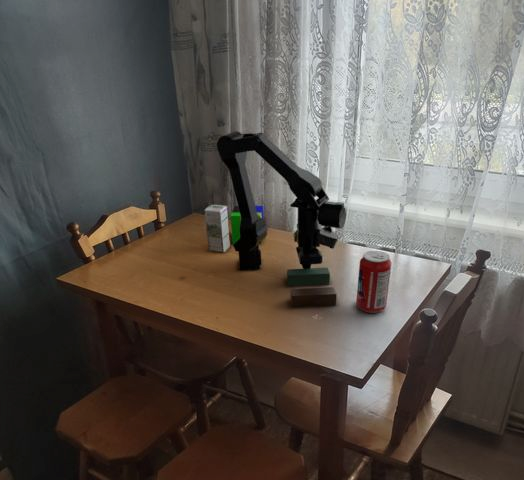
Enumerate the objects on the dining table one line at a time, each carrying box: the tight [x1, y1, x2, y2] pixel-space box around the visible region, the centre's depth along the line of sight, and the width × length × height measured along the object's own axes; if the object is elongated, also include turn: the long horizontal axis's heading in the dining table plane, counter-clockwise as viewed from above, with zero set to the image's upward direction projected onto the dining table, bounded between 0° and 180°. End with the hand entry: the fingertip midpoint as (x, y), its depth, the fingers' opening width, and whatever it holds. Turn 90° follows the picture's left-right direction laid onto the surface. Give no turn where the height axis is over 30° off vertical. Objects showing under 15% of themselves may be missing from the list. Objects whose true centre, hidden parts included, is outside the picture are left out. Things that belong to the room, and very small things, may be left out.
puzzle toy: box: [230, 205, 265, 245], centre depth 170 cm, size 10×10×10 cm
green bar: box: [286, 266, 331, 287], centre depth 143 cm, size 12×4×4 cm, turn 92°
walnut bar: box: [289, 286, 337, 308], centre depth 133 cm, size 12×4×4 cm, turn 92°
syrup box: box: [204, 204, 231, 253], centre depth 162 cm, size 6×6×14 cm
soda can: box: [355, 250, 392, 314], centre depth 127 cm, size 8×8×15 cm
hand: (306, 272), depth 146 cm, fingers closed
